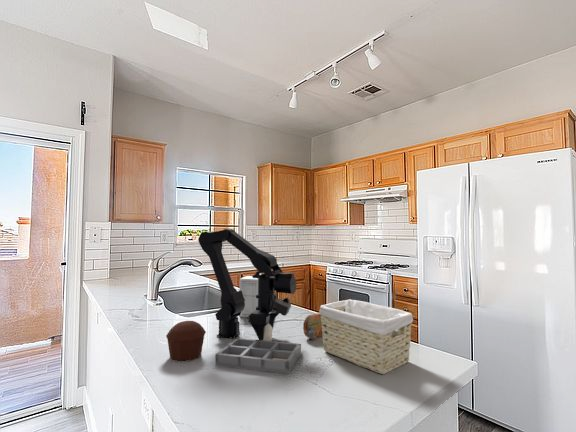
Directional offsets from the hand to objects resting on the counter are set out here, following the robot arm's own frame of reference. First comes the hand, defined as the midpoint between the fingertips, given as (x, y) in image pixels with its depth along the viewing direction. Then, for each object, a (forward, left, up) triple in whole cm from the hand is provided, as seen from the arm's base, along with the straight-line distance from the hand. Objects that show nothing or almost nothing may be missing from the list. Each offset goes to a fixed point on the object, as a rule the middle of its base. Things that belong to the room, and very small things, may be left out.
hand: (265, 337), depth 110 cm
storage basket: (+33, -6, -2) cm, 34 cm away
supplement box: (-17, +31, -2) cm, 35 cm away
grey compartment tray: (+4, -16, -1) cm, 16 cm away
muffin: (-19, -19, -2) cm, 27 cm away
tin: (+17, +10, -2) cm, 20 cm away
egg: (0, 0, -1) cm, 1 cm away
